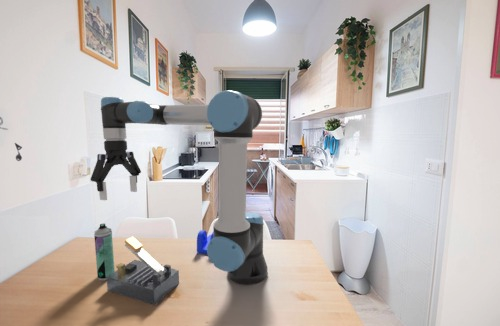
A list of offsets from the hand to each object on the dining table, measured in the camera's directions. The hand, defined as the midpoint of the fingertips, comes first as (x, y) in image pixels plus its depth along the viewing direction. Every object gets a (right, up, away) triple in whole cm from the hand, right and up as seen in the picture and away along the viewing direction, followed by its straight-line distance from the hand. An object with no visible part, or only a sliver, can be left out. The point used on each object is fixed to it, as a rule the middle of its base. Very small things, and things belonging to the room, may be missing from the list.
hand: (119, 195), depth 95 cm
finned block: (+14, -30, -10) cm, 35 cm away
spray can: (-3, -30, -3) cm, 30 cm away
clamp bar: (+14, -20, -11) cm, 27 cm away
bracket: (+33, -27, +22) cm, 48 cm away
